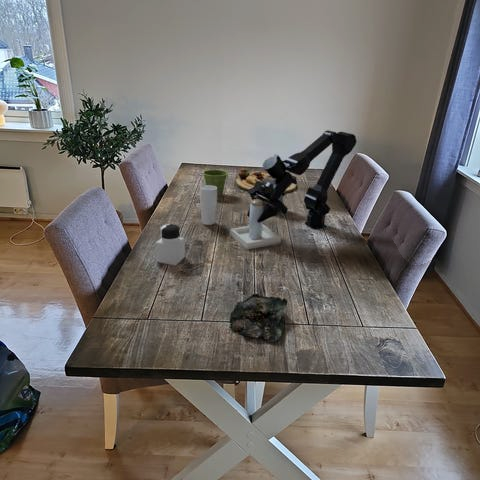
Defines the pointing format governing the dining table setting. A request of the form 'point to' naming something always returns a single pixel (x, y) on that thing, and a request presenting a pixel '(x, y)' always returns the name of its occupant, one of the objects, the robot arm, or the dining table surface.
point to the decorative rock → (260, 317)
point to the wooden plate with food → (248, 180)
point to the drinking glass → (208, 203)
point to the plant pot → (216, 179)
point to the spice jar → (255, 219)
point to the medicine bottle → (170, 245)
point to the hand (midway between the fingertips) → (252, 219)
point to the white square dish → (266, 240)
